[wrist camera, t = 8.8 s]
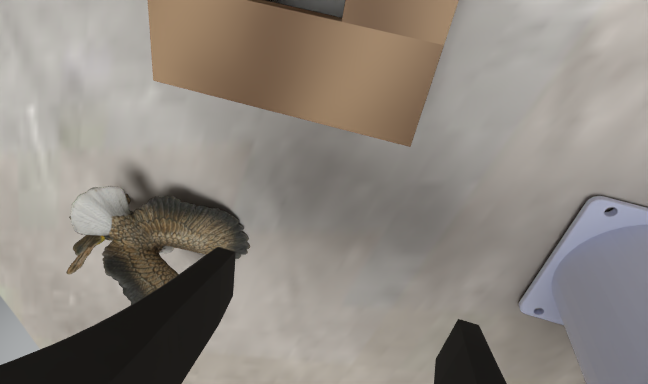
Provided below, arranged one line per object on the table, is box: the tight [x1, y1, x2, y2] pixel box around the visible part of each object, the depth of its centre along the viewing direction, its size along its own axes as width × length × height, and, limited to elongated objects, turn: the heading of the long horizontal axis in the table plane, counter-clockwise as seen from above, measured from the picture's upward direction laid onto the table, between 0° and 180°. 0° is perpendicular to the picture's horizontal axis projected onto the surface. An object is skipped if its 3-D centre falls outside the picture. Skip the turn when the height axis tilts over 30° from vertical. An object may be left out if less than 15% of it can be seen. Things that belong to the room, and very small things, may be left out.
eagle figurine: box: [67, 186, 250, 305], centre depth 23 cm, size 8×7×9 cm
